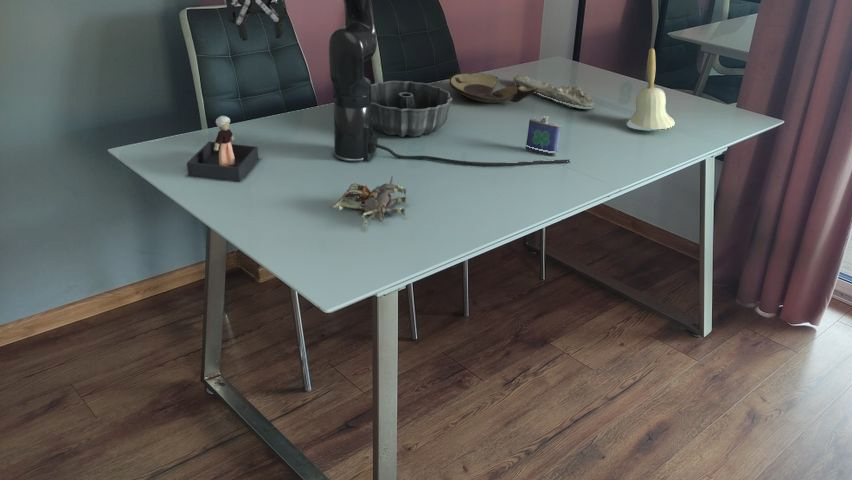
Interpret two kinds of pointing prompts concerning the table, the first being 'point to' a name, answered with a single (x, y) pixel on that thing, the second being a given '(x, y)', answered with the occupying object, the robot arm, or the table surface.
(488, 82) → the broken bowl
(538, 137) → the flask
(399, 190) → the figurine
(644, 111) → the handbell
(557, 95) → the elongated rock
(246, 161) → the pan
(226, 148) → the grandmother figurine
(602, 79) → the table surface
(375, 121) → the bundt pan
